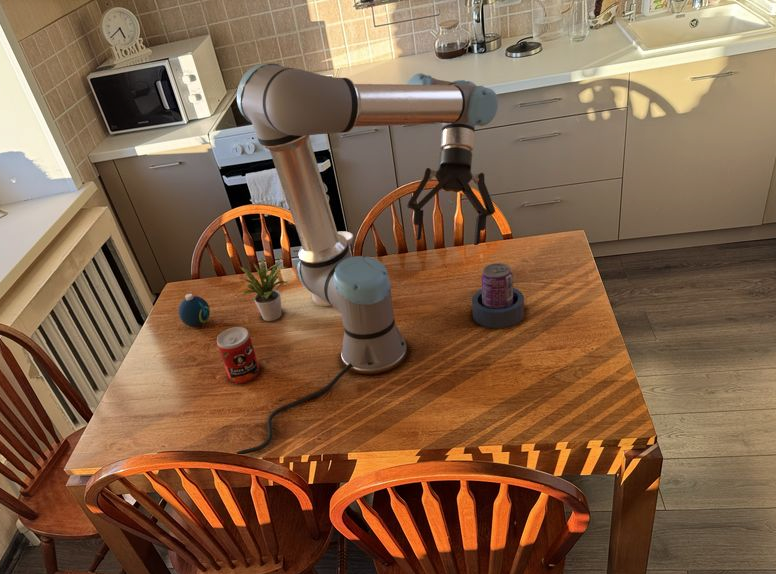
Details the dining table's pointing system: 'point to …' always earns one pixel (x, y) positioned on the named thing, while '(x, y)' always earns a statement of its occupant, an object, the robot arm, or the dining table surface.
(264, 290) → the house plant
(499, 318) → the dark grey bowl
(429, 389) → the dining table surface
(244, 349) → the canned food
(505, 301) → the beverage can
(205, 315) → the christmas ornament
